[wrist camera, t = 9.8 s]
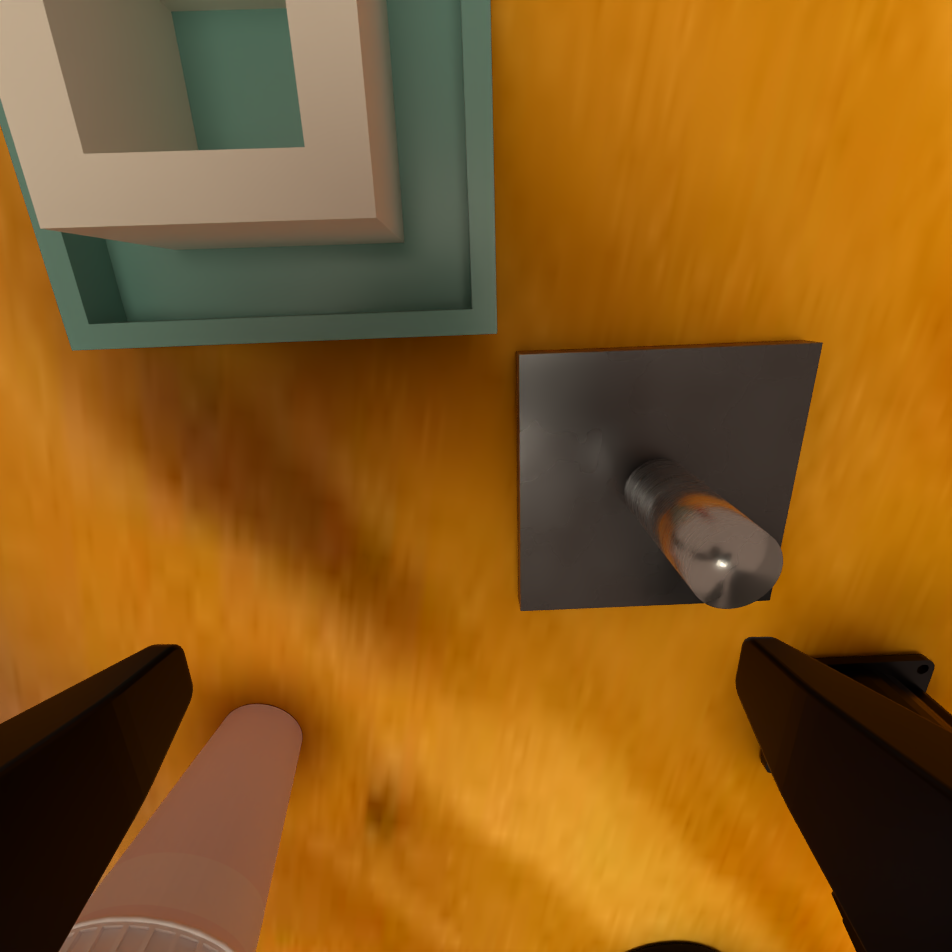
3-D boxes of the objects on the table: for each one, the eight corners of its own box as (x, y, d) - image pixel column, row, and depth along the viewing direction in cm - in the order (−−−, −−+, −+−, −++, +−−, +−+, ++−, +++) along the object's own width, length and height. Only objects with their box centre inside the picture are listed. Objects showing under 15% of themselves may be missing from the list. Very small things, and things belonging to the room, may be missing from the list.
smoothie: (211, 662, 21) (-204, 1257, 8) (350, 706, 22) (185, 1299, 9) (178, 761, 23) (-198, 1369, 10) (308, 797, 24) (121, 1392, 11)
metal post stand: (802, 340, 17) (992, 365, 11) (755, 586, 20) (879, 710, 14) (516, 351, 17) (545, 382, 11) (518, 596, 20) (540, 725, 14)
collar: (404, 242, 15) (376, 218, 10) (175, 249, 15) (40, 228, 10) (381, -60, 12) (331, -276, 8) (107, -52, 12) (-112, -264, 8)
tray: (480, -184, 12) (484, -298, 10) (492, 328, 17) (497, 333, 14) (-14, -169, 12) (-129, -279, 10) (127, 342, 16) (72, 350, 14)
